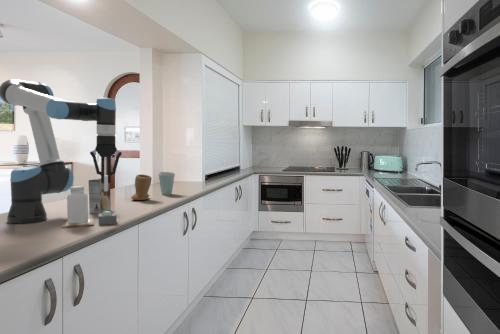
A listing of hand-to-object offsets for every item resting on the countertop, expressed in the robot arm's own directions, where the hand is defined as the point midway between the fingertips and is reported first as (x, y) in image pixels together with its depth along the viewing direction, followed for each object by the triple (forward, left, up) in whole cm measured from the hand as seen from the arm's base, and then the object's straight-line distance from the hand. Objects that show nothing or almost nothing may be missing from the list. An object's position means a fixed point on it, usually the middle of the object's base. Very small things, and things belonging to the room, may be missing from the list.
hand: (105, 190), depth 171 cm
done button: (0, -1, -13) cm, 13 cm away
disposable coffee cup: (+40, +84, -14) cm, 95 cm away
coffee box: (-2, +29, -14) cm, 33 cm away
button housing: (0, -1, -14) cm, 14 cm away
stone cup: (+22, +65, -14) cm, 70 cm away
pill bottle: (-11, +1, -13) cm, 17 cm away
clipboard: (-11, +1, -14) cm, 18 cm away
